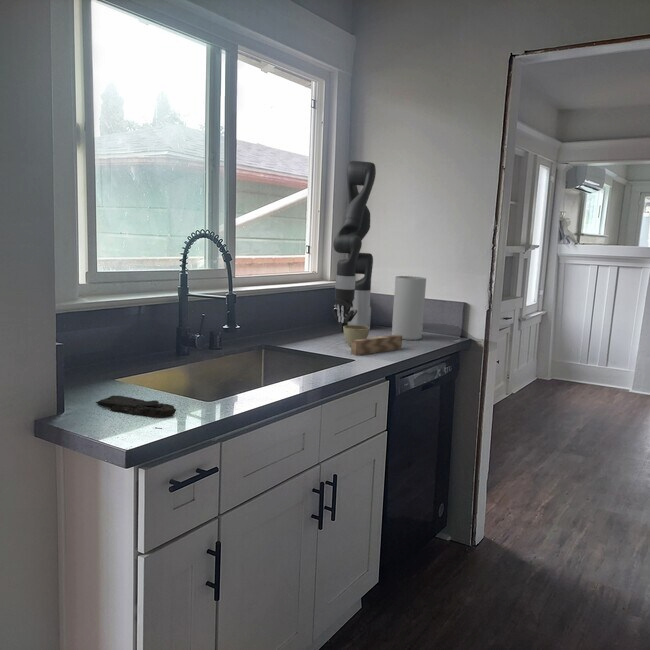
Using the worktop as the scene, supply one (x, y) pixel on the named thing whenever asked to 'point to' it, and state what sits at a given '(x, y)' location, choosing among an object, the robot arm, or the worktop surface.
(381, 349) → the board
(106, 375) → the worktop surface
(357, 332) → the flower pot
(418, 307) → the cylinder vase
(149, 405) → the wood
